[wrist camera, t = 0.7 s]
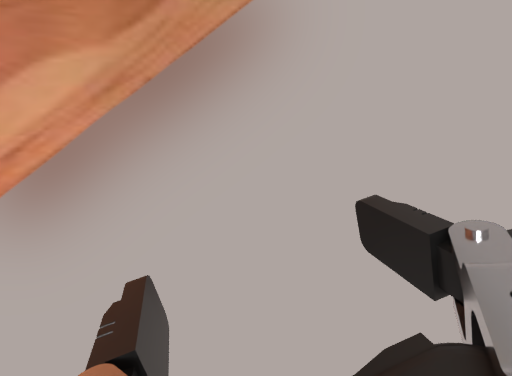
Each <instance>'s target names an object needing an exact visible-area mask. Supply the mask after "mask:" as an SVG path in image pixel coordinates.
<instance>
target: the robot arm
mask: <svg viewBox="0 0 512 376" xmlns="http://www.w3.org/2000/svg"><path fill="white" fill-rule="evenodd" d="M355 207H356V215H357V221H358V227H359V233H360V238H361V241H362V244H363V246H364V247H365V249H366V250H367V251H368V252H369V253H370V254H372V255H373V256H374V257H376V258H377V259H378V260H380V261H381V262H382V263H384V264H385V265H387V266H388V267H389V268H391V269H392V270H393V271H395V272H396V273H398V274H399V275H400V276H401V277H403V278H404V279H405V280H407V281H408V282H410V283H411V284H412V285H414V286H415V287H416V288H418V289H419V290H420V291H422V292H423V293H425V294H426V295H427V296H429V297H430V298H431V299H433V300H434V301H436V300H439V299H441V298H443V297H446V296H448V295H451V296H453V305H454V310H455V314H456V318H457V322H458V326H459V330H460V334H461V338H462V342H463V343H440V344H433V343H431V341H429V340H428V339H427V338H426V337H425V336H424V335H423V334H422V333H419V334H417V335H414V336H412V337H410V338H408V339H405V340H403V341H401V342H399V343H397V344H395V345H392V346H390V347H388V348H386V349H384V350H383V351H382V352H381V353H379V354H378V355H377V356H376V357H375V358H374V359H372V360H371V361H370V362H369V363H368V364H367V365H365V366H364V367H363V368H362V369H361V370H360V371H358V372H357V373H356V374H355V375H353V376H512V229H511V230H506V229H505V228H504V227H502V226H500V225H498V224H496V223H492V222H488V221H481V220H468V221H462V222H458V223H455V224H454V223H452V222H449V221H447V220H444V219H442V218H439V217H436V216H435V215H432V214H430V213H426V212H425V211H422V210H420V209H419V210H418V209H417V208H415V207H412V206H410V205H408V204H404V203H397V202H392V201H389V200H387V199H385V198H382V197H380V196H378V195H373V196H370V197H367V198H364V199H361V200H359V201H357V202H356V205H355ZM168 361H169V325H168V320H167V317H166V313H165V310H164V308H163V306H162V303H161V301H160V298H159V296H158V294H157V291H156V289H155V287H154V284H153V282H152V280H151V278H150V276H148V275H147V276H144V277H141V278H139V279H136V280H133V281H130V282H127V283H126V284H125V287H124V291H123V295H122V299H121V300H120V301H117V302H115V303H113V304H112V305H111V307H110V308H109V309H108V311H107V312H106V313H105V314H104V316H103V319H102V322H101V325H100V329H99V331H98V334H97V339H96V340H95V343H94V346H93V349H92V352H91V355H90V358H89V361H88V364H87V367H86V370H85V371H84V372H83V373H81V374H80V375H78V376H168V363H169V362H168Z"/></svg>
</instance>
